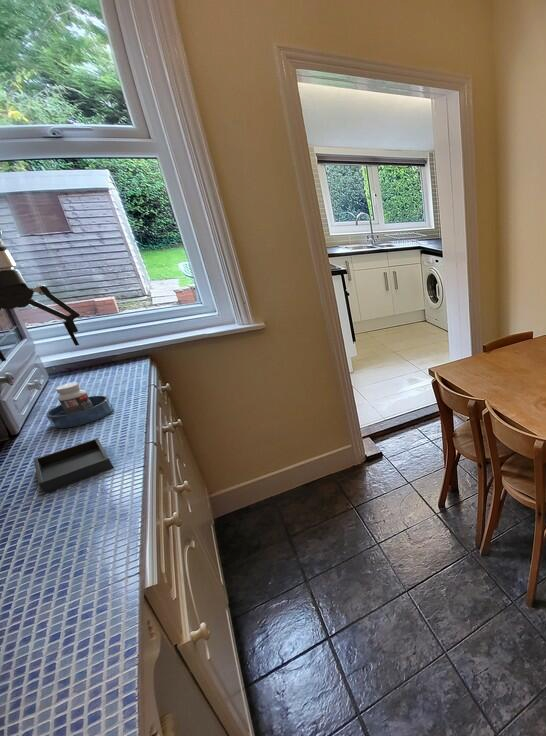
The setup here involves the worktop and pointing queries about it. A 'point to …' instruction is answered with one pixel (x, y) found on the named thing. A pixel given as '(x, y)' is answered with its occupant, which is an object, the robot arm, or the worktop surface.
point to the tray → (71, 465)
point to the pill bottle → (73, 398)
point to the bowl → (80, 413)
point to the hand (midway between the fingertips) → (42, 352)
